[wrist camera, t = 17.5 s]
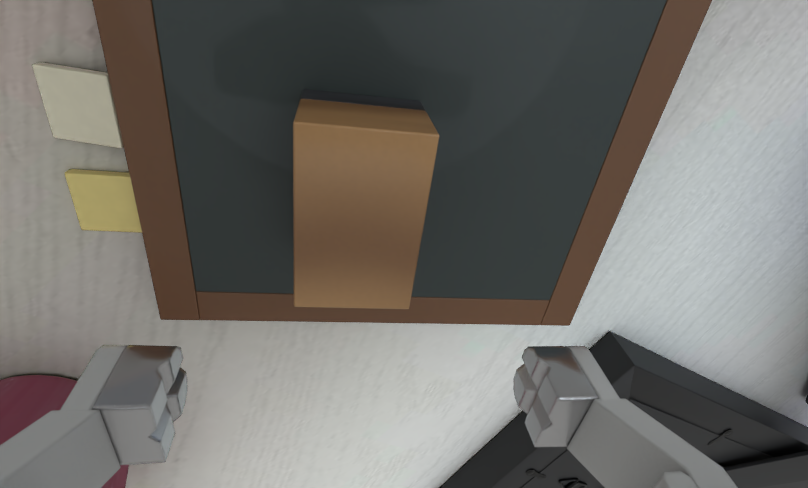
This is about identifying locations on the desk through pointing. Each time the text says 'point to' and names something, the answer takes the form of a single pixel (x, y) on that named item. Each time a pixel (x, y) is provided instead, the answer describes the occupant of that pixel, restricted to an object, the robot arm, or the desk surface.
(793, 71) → the desk surface
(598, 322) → the desk surface
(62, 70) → the white square tile
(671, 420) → the picture frame
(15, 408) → the flower pot
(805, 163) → the desk surface
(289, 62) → the slate board
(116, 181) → the yellow square tile
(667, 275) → the desk surface
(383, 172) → the duster
